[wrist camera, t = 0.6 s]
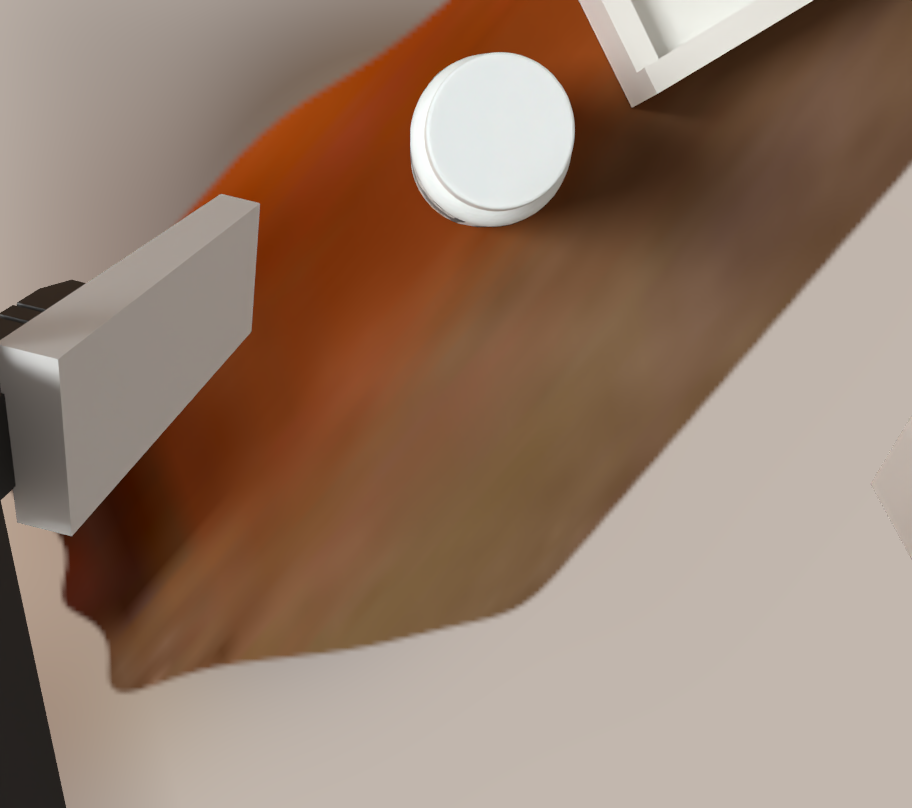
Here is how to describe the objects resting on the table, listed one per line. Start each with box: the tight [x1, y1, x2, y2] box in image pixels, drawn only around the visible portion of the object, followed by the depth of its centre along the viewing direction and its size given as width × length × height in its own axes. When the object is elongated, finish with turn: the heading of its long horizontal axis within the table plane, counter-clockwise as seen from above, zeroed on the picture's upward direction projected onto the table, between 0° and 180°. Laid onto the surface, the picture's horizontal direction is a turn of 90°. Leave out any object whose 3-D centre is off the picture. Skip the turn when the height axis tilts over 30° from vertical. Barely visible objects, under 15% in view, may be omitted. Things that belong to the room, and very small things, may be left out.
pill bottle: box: [410, 52, 575, 227], centre depth 29 cm, size 6×6×10 cm
